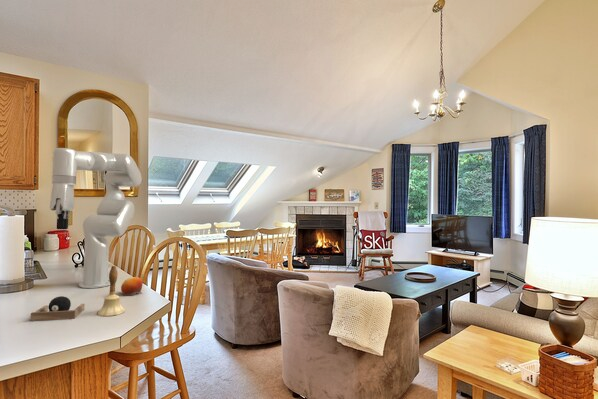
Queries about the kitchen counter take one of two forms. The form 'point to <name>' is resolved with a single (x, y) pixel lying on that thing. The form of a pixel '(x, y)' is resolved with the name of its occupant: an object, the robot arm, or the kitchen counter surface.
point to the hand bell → (112, 298)
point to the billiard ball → (59, 304)
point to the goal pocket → (55, 314)
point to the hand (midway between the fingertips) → (62, 229)
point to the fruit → (132, 286)
